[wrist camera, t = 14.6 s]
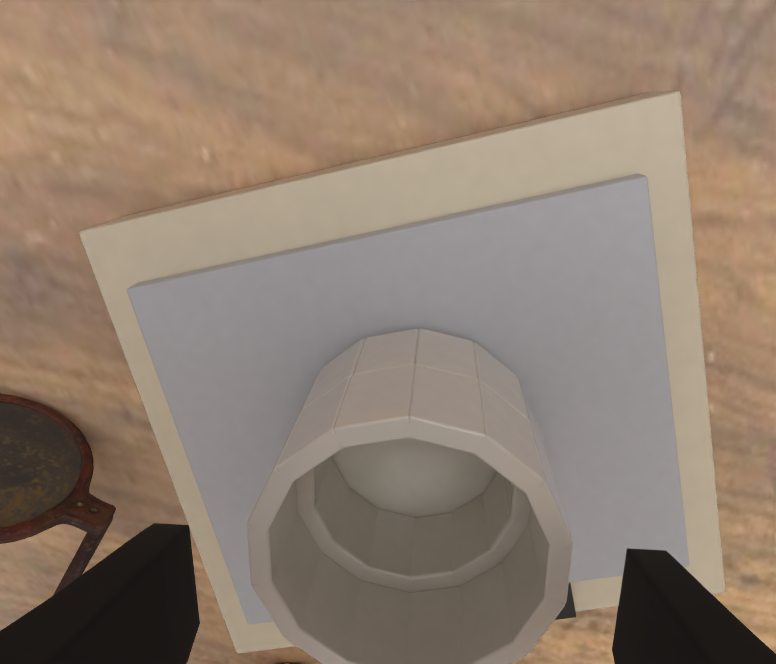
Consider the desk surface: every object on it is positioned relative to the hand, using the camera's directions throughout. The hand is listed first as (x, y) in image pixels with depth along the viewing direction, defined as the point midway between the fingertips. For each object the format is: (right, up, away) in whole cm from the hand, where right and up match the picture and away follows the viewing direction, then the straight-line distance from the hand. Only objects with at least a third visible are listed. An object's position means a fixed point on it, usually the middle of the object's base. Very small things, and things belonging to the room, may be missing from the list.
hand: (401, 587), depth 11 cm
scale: (+1, +3, +8) cm, 8 cm away
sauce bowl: (0, +2, +5) cm, 6 cm away
